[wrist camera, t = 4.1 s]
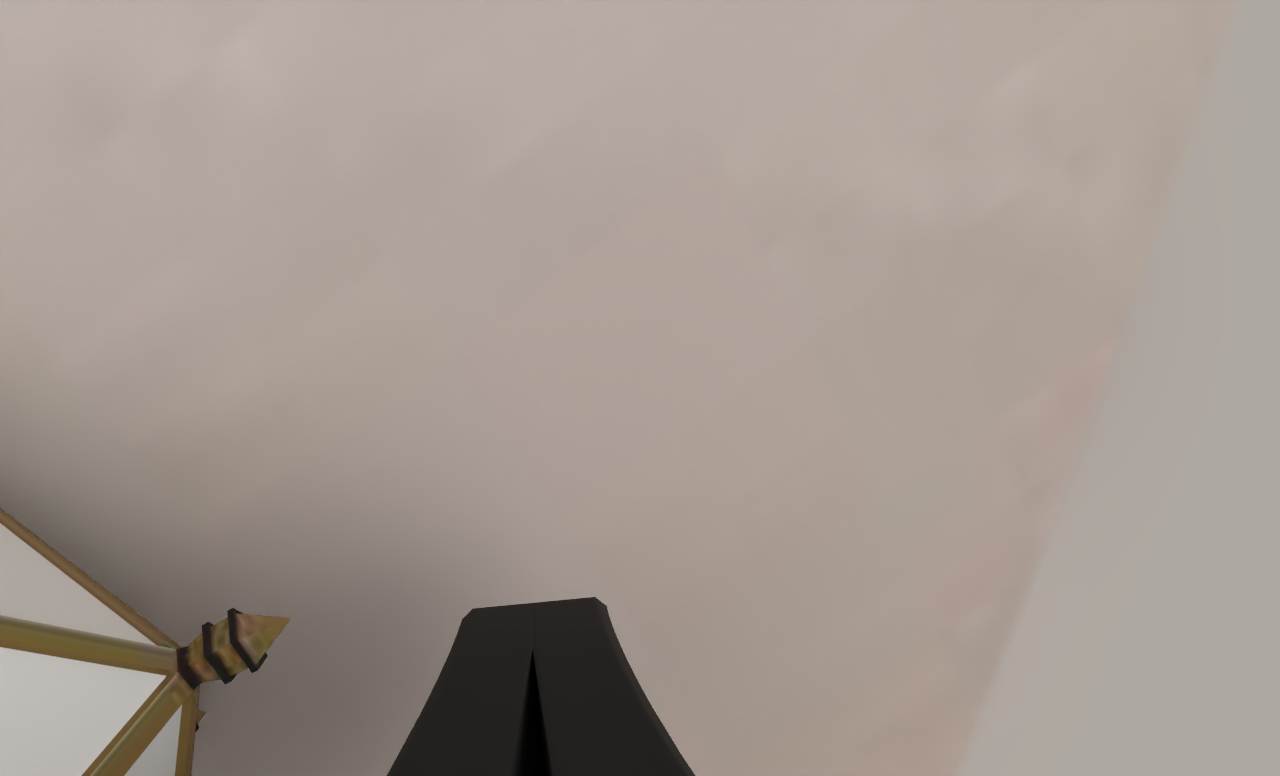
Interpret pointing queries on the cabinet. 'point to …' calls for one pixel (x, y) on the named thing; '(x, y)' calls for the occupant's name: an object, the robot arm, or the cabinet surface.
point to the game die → (101, 671)
